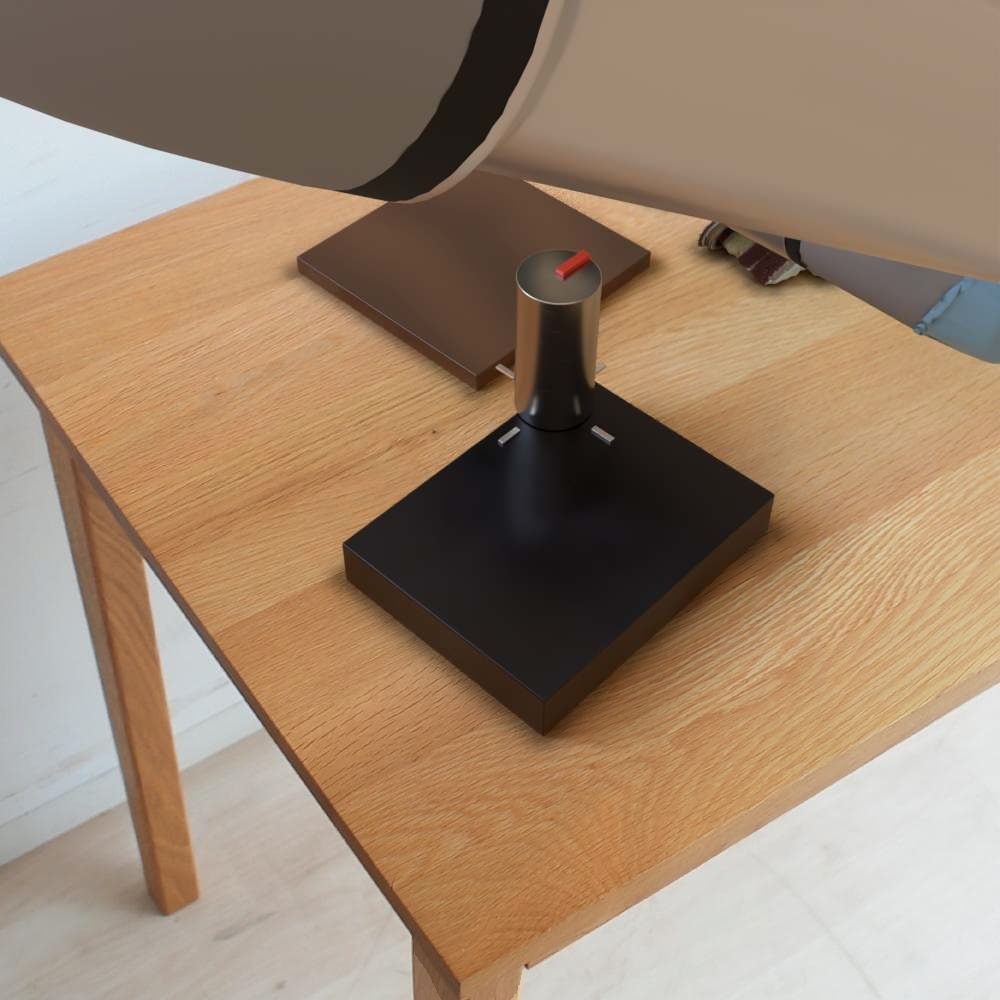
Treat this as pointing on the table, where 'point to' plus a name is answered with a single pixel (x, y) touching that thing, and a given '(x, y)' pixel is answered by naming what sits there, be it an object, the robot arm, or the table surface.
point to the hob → (557, 550)
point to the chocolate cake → (749, 254)
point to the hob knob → (556, 338)
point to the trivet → (460, 267)
